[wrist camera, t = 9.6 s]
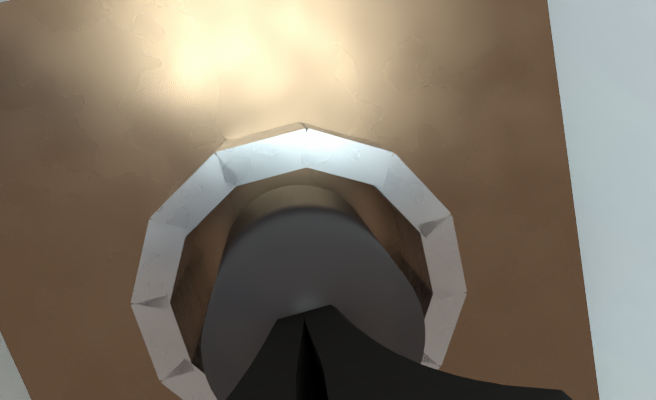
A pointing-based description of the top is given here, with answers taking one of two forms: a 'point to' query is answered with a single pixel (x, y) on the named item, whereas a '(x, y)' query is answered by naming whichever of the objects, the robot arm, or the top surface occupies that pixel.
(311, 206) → the dark gray cylinder
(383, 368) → the robot arm
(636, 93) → the top surface
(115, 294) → the square bronze board
